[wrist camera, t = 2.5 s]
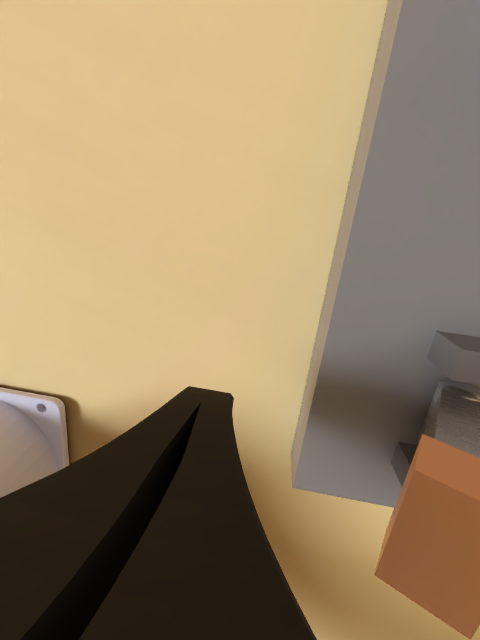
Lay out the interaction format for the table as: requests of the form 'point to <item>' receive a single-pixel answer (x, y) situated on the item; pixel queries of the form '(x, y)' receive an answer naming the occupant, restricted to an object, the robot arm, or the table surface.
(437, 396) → the lever
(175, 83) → the table surface
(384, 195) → the breaker block
